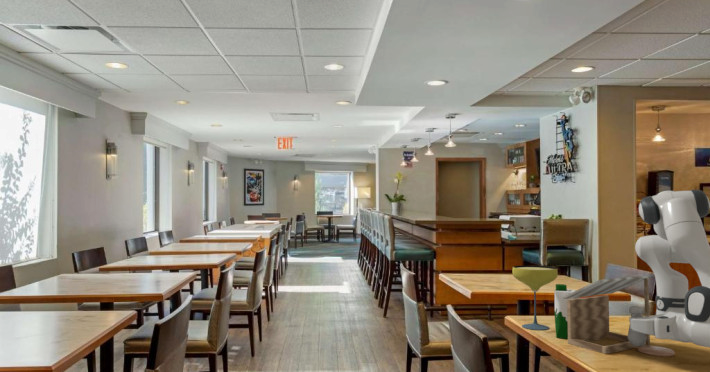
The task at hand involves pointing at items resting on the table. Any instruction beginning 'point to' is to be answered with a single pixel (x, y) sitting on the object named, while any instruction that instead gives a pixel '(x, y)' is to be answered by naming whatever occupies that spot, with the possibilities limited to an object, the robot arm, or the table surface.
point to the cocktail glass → (535, 284)
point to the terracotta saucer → (655, 350)
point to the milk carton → (561, 310)
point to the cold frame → (599, 314)
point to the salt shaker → (635, 336)
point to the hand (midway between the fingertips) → (634, 318)
